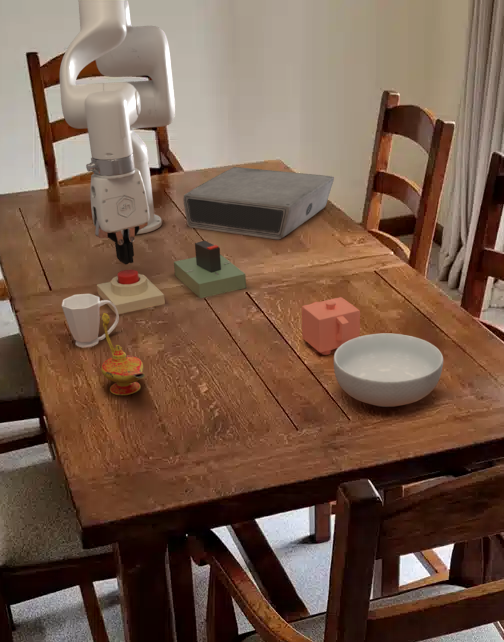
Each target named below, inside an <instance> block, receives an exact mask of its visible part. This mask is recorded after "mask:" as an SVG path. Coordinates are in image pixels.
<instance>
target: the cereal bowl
mask: <svg viewBox="0 0 504 642" xmlns="http://www.w3.org/2000/svg"><path fill="white" fill-rule="evenodd" d="M443 366H444V356H443V353H442V351H440V349H439V348H438V347H437V346H435V345H434V344H433V343H431V342H429V341H427V340H425V339H422V338H420V337H416V336H412V335H408V334H403V333H402V334H401V333H394V332H393V333H389V332H388V333H386V332H383V333H371V334H365V335H361V336H360V337H357V338H354V339H351V340H349V341H347V342H345V343H343V344H342V345H341V346H340V347H339V348H336V349H335V351H334V355H333V373H334V375H335V379H336V381H337V384H338V385H339V386H340V388H341V389H342V391H344V393H346V394H347V395H348V396H350V397H351V398H353V399H354V400H356V401H359V402H361V403H365V404H369V405H372V406H375V407H379V408H381V407H382V408H392V407H393V408H394V407H399V406H405V405H409V404H413V403H416V402H419V401H420V400H422V399H424V398H426V397H427V396H428V395H429V394H430V393H432V391H434V389H435V388H436V387H437V385H438V383H439V382H440V378H441V376H442V372H443Z"/></svg>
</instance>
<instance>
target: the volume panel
mask: <svg viewBox="0 0 504 642" xmlns="http://www.w3.org/2000/svg"><path fill="white" fill-rule="evenodd" d="M220 261H221V270H218V271H215V272H209V271H207V270H205V269H203V268H202V267H200V266H198V265H197V263H196V256H194V257H189V258H185V259H180V260H175V261H173V269H174V276H175V277H176V278H177V279H178V280H180V282H181V283H183V284H184V285H185V286H186V287H187V288H188V289H189V290H190V291H191V292H193V293H194V294H195V296H197V297H198V298H199V299H203V298H208V297H213V296H216V295H222V294H225V293H229V292H230V293H231V292H234V291H239V290H240V291H241V290H245V289H247V279H246V278H247V275H246V273H245V272H244V271H243V270H241V269H240V268H239V267H238V266H236V264H233V263H232V262H231V261H230V260H228V259H227V258H226V257H225V256H223V255H222V254H221V253H220Z"/></svg>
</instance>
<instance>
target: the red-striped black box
mask: <svg viewBox="0 0 504 642" xmlns="http://www.w3.org/2000/svg"><path fill="white" fill-rule="evenodd" d="M194 250H195V251H194V252H195V257H196V263H197V265H198V266H200V267H202V268H203V269H205V270H207V271H209V272H215V271H218V270H221V261H220V254H221V250H220V247H219V245H217V244H214V243H211V242H209V241H207V240H201V241H198V242H195V243H194Z"/></svg>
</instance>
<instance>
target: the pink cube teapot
mask: <svg viewBox="0 0 504 642" xmlns="http://www.w3.org/2000/svg"><path fill="white" fill-rule="evenodd" d="M360 335H361V310H360V309H359V308H357V307H355V305H353V304H352V303H351V302H349V301H347V300H346V299H344V298H343V297H342V296H339V297H335V298H331V299H326V300H322V301H314V302H311V303H310V304H305V305H302V306H301V339H303V340H304V341H305V342H307V343H308V344H309V345H310V346H311V347H312V348H314V350H316V351H317V352H318V353H320V354H322V355H323V356H327V355H330V354H332V353H331V351H332V350H337V349H338V348H339V347H340V346H341V345H342V344H343V343H345V342H347V341H349V340H351V339H354V338H357V337H360Z"/></svg>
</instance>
